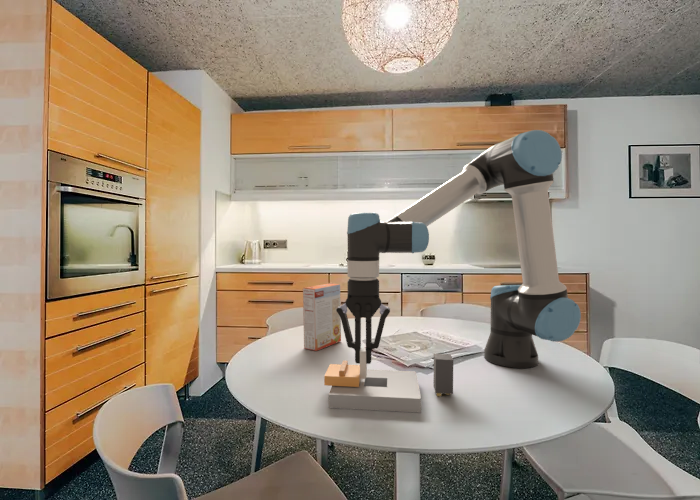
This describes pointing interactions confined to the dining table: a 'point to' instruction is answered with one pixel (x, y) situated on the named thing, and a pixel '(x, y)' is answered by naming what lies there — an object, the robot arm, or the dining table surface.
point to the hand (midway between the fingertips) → (363, 376)
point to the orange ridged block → (342, 375)
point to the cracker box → (321, 316)
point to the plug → (443, 374)
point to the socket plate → (380, 392)
